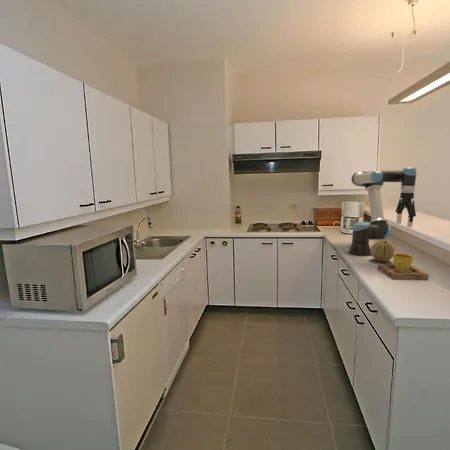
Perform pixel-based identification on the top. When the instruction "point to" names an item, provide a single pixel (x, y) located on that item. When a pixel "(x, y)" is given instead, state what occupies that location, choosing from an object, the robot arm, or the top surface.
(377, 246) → the cantaloupe
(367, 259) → the top surface
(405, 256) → the plant pot
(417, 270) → the walnut tray
